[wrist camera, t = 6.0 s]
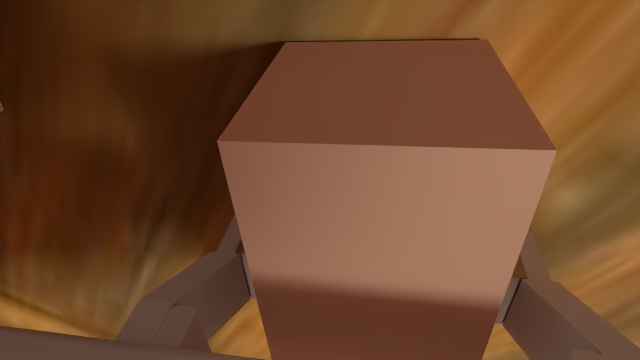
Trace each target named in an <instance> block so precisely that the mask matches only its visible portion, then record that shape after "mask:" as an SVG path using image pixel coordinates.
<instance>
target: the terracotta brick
mask: <svg viewBox="0 0 640 360" xmlns="http://www.w3.org/2000/svg"><path fill="white" fill-rule="evenodd" d="M217 143H218V147H219V151H220V155H221V159H222V163H223V167H224V171H225V175H226V179H227V183H228V187H229V191H230V195H231V199H232V203H233V207H234V211H235V215H236V219H237V223H238V227H239V231H240V235H241V239H242V242H243V246H244V250H245V254H246V258H247V262H248V266H249V270H250V274H251V278H252V282H253V286H254V290H255V294H256V298H257V302H258V306H259V310H260V314H261V318H262V322H263V326H264V330H265V334H266V338H267V342H268V346H269V350H270V354H271V358H272V360H481V359H482V357H483V354H484V351H485V348H486V346H487V343H488V340H489V337H490V335H491V332H492V329H493V326H494V324H495V321H496V318H497V315H498V312H499V310H500V307H501V304H502V301H503V299H504V296H505V293H506V290H507V288H508V285H509V282H510V279H511V277H512V274H513V271H514V268H515V265H516V263H517V260H518V257H519V254H520V252H521V249H522V246H523V243H524V241H525V238H526V235H527V232H528V230H529V227H530V224H531V221H532V218H533V216H534V213H535V210H536V207H537V205H538V202H539V199H540V196H541V194H542V191H543V188H544V185H545V183H546V180H547V177H548V174H549V171H550V169H551V166H552V163H553V160H554V158H555V155H556V152H557V149H556V148H555V146H554V145H553V143H552V142H551V140H550V138H549V137H548V135H547V134H546V132H545V130H544V129H543V127H542V126H541V124H540V123H539V121H538V119H537V118H536V116H535V115H534V113H533V111H532V110H531V108H530V107H529V105H528V103H527V102H526V100H525V99H524V97H523V96H522V94H521V92H520V91H519V89H518V88H517V86H516V84H515V83H514V81H513V80H512V78H511V76H510V75H509V73H508V72H507V70H506V69H505V67H504V65H503V64H502V62H501V61H500V59H499V57H498V56H497V54H496V53H495V51H494V49H493V48H492V46H491V45H490V43H489V42H488V40H424V41H349V42H286V43H285V44H284V45H283V47H282V48H281V50H280V51H279V53H278V54H277V56H276V57H275V58H274V60H273V61H272V63H271V64H270V66H269V67H268V68H267V70H266V71H265V73H264V74H263V76H262V77H261V78H260V80H259V81H258V83H257V84H256V86H255V87H254V89H253V90H252V91H251V93H250V94H249V96H248V97H247V99H246V100H245V101H244V103H243V104H242V106H241V107H240V109H239V110H238V111H237V113H236V114H235V116H234V117H233V119H232V120H231V121H230V123H229V124H228V126H227V127H226V129H225V130H224V132H223V133H222V134H221V136H220V137H219V139H218V140H217Z"/></svg>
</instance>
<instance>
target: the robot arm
mask: <svg viewBox="0 0 640 360" xmlns="http://www.w3.org/2000/svg"><path fill="white" fill-rule="evenodd" d="M250 297H254V298H256V294H255V290H254V286H253V282H252V278H251V274H250V270H249V266H248V262H247V258H246V254H245V250H244V246H243V242H242V239H241V235H240V231H239V227H238V223H237V219H236V215H234V216H233V218H232V220H231V222H230V224H229V226H228V228H227V230H226V232H225V235H224V237H223V239H222V241H221V243H220V245H219V247H218V249H217V251H216V252H213V251H211V252H210V253H208V254H207V255H205V256H204V257H202V258H201V259H199V260H198V261H196V262H195V263H193V264H192V265H190V266H189V267H187V268H186V269H184V270H183V271H181V272H180V273H178V274H177V275H175V276H174V277H172V278H171V279H169V280H168V281H166V282H165V283H164V284H162V285H161V286H159V287H158V288H156V289H155V290H153V291H152V292H150V293H149V294H147V295H146V296H144V297H143V298H141V299H140V300H139V302H138V303H137V305H136V307H135V308H134V310H133V311H132V313H131V315H130V316H129V318H128V319H127V321H126V323H125V324H124V326H123V328H122V329H121V331H120V332H119V334H118V336H117V337H116V339H115V340H108V339H100V338H92V337H85V336H77V335H69V334H61V333H54V332H46V331H38V330H30V329H22V328H15V327H7V326H0V360H264V359H256V358H248V357H241V356H233V355H225V354H217V353H212V352H211V349H210V347H209V344H208V342H207V341H208V340H209V339H211V338H212V337H213V336H214V335H215V334H216V333H217V332H218V331H219V330H220V329H221V328H222V327H223V326H224V325H225V324H226V323H227V322H228V321H229V320H230V319H231V318H232V317H233V316H234V315H235V314H236V313H237V312H238V311H239V310H240V309H241V308H242V307H243V306H244V305H245V304H246V303H247V302H248V301H249V300H250ZM495 323H501V324H503V326H504V328H505V329H506V330H507V331H508V333H509V334H510V335H511V336H512V338H513V339H514V340H515V341H516V342H517V344H518V345H519V346H520V347H521V349H522V350H523V351H524V352H525V354H526V355H527V356H528V357H529V359H530V360H640V348H638V347H637V346H636V345H635V344H633V343H632V342H631V341H630V340H629V339H627V338H626V337H625V336H624V335H622V334H621V333H620V332H619V331H617V330H616V329H615V328H614V327H613V326H611V325H610V324H609V323H608V322H606V321H605V320H604V319H603V318H601V317H600V316H599V315H598V314H597V313H595V312H594V311H593V310H592V309H590V308H589V307H588V306H587V305H585V304H584V303H583V302H582V301H581V300H579V299H578V298H577V297H576V296H574V295H573V294H572V293H571V292H569V291H568V290H567V289H566V288H565V287H563V286H562V285H561V284H560V283H558V282H552V281H551V279H550V276H549V274H548V271H547V269H546V267H545V264H544V262H543V259H542V257H541V255H540V252H539V250H538V247H537V245H536V243H535V240H534V238H533V236H532V235H531V234H530V233H527V235H526V238H525V241H524V243H523V246H522V249H521V252H520V254H519V257H518V260H517V263H516V265H515V268H514V271H513V274H512V277H511V279H510V282H509V285H508V288H507V290H506V293H505V296H504V299H503V301H502V304H501V307H500V310H499V312H498V315H497V318H496V321H495Z"/></svg>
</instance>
